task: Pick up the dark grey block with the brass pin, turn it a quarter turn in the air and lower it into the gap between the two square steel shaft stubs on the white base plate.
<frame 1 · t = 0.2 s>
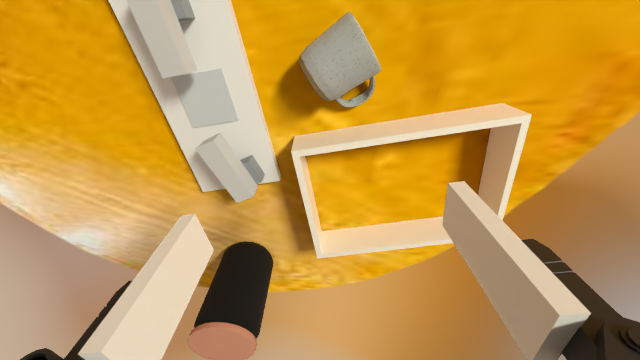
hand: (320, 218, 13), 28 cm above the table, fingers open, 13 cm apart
white base plate: (210, 97, 37), on the table
coffee jar: (249, 256, 55), on the table
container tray: (395, 179, 44), on the table
ceramic mug: (344, 66, 35), on the table
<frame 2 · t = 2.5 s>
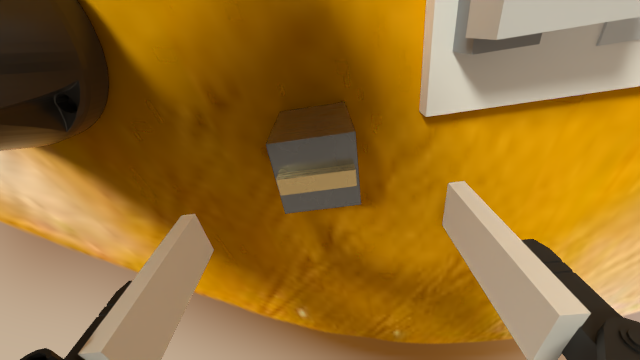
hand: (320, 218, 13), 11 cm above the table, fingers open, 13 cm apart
dark grey block: (317, 136, 22), on the table
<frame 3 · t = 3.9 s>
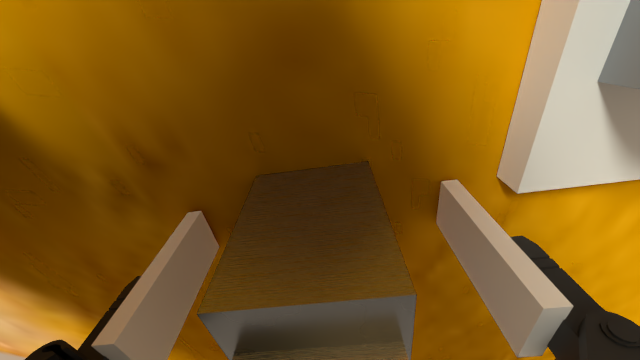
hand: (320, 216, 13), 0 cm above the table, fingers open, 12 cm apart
dark grey block: (319, 212, 13), on the table
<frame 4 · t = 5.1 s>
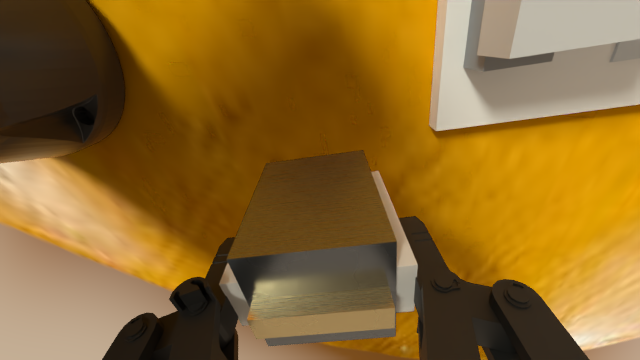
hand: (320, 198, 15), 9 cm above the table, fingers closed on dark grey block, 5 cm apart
dark grey block: (321, 196, 15), point 8 cm above the table, touching gripper
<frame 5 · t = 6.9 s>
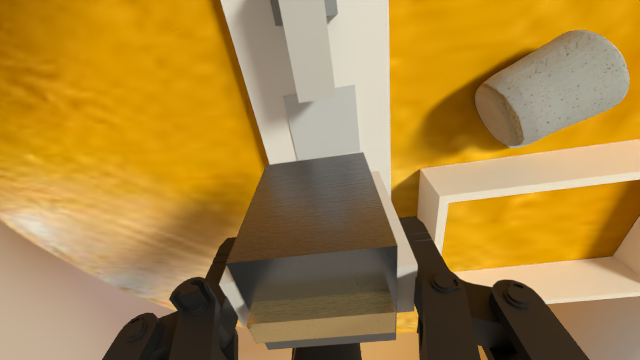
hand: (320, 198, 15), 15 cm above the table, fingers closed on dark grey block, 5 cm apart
white base plate: (323, 120, 28), on the table
coffee jar: (325, 300, 46), on the table
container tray: (530, 219, 35), on the table
dark grey block: (321, 198, 15), point 15 cm above the table, touching gripper
ceramic mug: (515, 96, 27), on the table
when the fingers open (2 cm above the table, at t = 9.2 s): dark grey block stays where it is, resting on white base plate.
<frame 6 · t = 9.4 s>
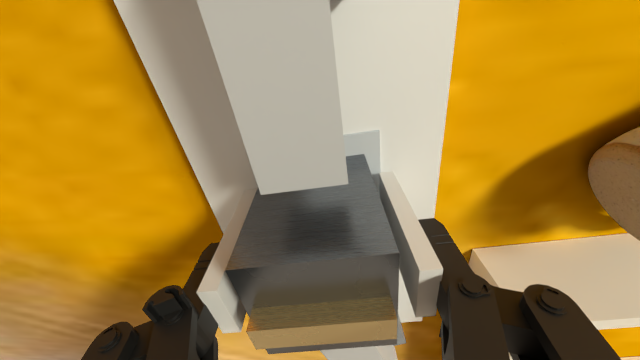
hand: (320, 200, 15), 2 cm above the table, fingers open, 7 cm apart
white base plate: (320, 181, 16), on the table
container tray: (623, 311, 24), on the table
dark grey block: (321, 200, 15), point 2 cm above the table, touching white base plate
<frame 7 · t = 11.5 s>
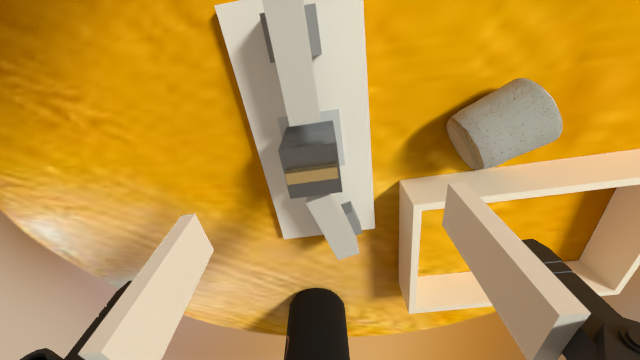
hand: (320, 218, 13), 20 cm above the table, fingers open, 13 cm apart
white base plate: (313, 138, 32), on the table
coffee jar: (317, 302, 49), on the table
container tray: (501, 226, 39), on the table
dark grey block: (313, 145, 30), point 2 cm above the table, touching white base plate
ceramic mug: (481, 125, 31), on the table
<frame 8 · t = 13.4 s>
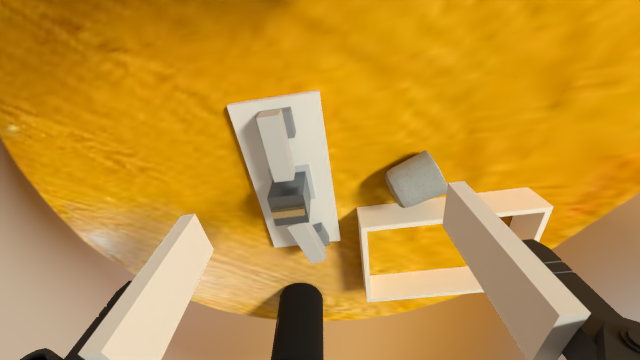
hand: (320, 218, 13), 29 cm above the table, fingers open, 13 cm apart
white base plate: (293, 179, 45), on the table
coffee jar: (301, 293, 63), on the table
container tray: (434, 239, 53), on the table
dark grey block: (293, 186, 44), point 2 cm above the table, touching white base plate
ceramic mug: (412, 174, 45), on the table
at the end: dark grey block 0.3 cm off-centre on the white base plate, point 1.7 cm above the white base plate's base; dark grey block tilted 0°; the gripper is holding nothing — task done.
